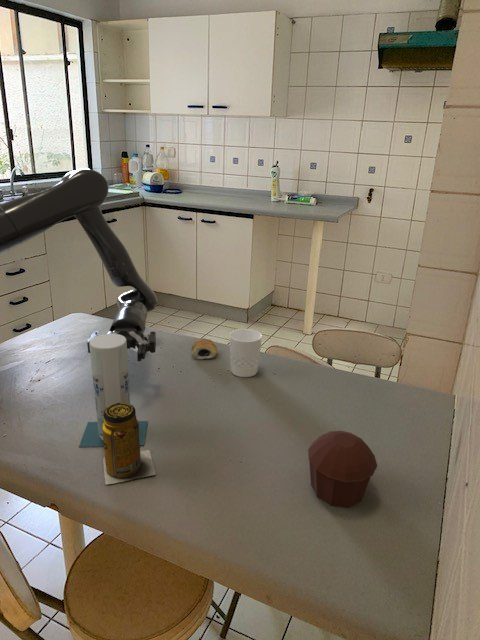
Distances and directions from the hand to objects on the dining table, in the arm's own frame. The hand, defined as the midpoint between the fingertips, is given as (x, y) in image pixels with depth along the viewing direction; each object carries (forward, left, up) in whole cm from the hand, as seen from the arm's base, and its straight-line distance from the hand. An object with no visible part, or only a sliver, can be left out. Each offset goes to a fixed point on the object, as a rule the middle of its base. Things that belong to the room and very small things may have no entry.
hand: (118, 357), depth 95 cm
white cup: (+28, +16, -12) cm, 35 cm away
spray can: (0, -9, -12) cm, 15 cm away
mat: (0, -9, -12) cm, 15 cm away
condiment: (+4, -19, -12) cm, 23 cm away
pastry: (+18, +26, -12) cm, 34 cm away
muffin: (+40, -26, -12) cm, 49 cm away
